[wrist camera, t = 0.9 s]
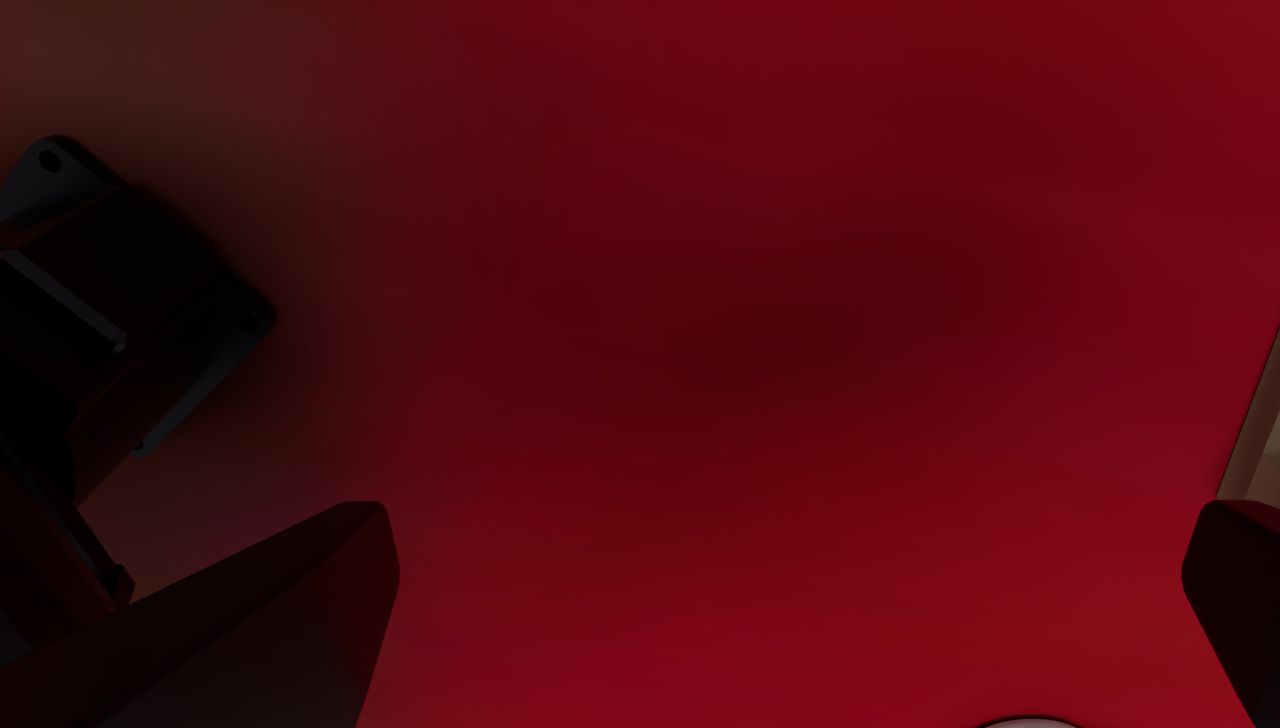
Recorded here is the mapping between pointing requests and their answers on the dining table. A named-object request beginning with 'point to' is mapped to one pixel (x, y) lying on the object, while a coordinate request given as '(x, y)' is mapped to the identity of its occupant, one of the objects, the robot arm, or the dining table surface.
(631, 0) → the dining table surface
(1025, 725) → the supplement bottle
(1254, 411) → the walnut track
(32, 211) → the robot arm
